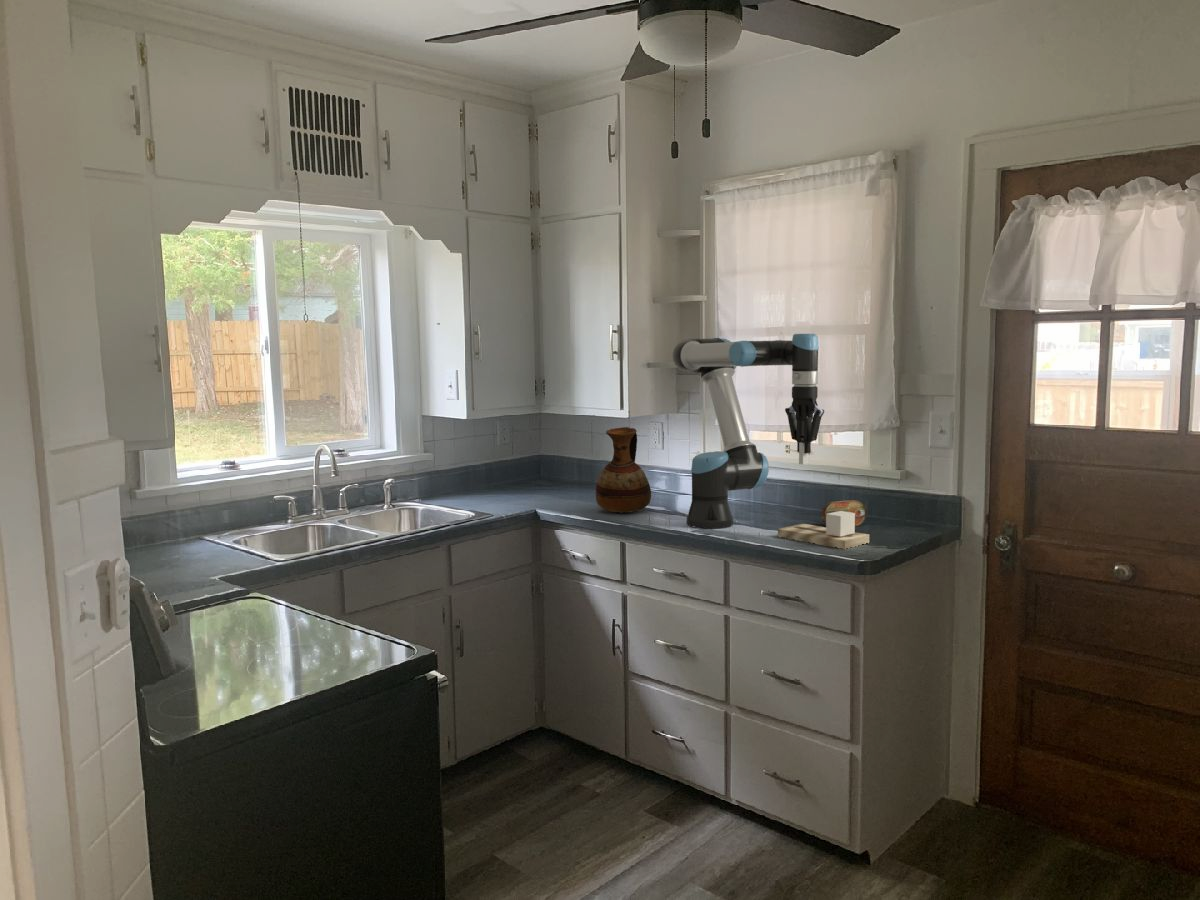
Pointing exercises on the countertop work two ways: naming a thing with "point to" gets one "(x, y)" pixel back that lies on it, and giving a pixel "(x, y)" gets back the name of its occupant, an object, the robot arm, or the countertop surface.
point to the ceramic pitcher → (623, 476)
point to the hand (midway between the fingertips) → (803, 463)
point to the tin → (846, 509)
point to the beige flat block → (822, 536)
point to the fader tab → (840, 523)
